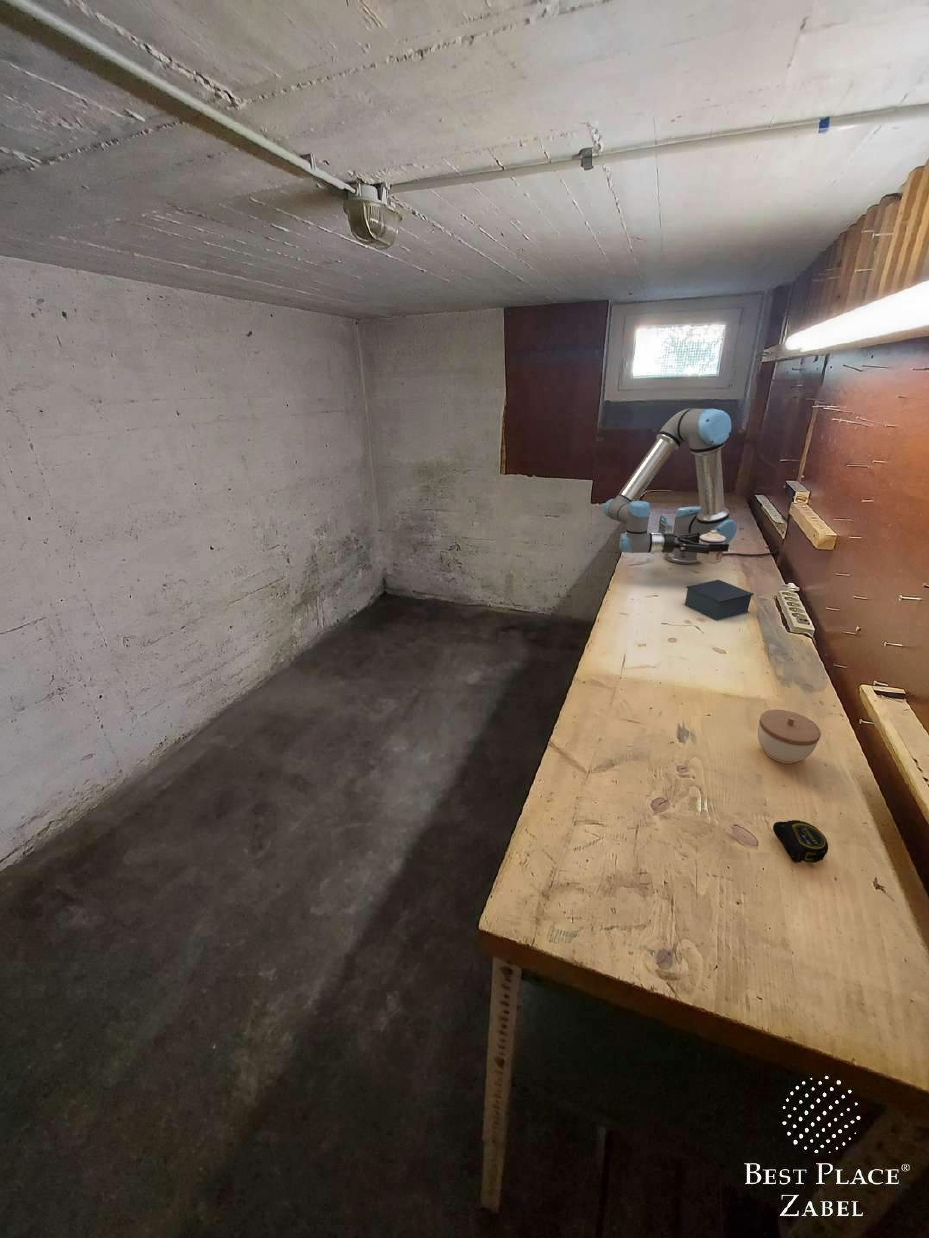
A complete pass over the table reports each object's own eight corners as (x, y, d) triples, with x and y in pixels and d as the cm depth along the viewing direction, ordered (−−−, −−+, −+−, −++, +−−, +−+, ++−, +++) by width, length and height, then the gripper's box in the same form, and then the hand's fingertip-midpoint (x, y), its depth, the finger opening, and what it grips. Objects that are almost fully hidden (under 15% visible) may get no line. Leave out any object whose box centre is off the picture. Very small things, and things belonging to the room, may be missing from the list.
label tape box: (671, 542, 237) (674, 518, 231) (662, 543, 237) (666, 518, 232) (664, 537, 245) (668, 513, 239) (656, 538, 245) (659, 514, 240)
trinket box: (741, 739, 108) (750, 705, 104) (787, 735, 108) (798, 700, 104) (773, 773, 98) (784, 737, 94) (823, 768, 99) (836, 732, 95)
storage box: (714, 597, 177) (718, 579, 174) (749, 612, 165) (753, 593, 162) (683, 604, 172) (686, 586, 169) (716, 620, 160) (720, 601, 157)
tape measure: (768, 832, 86) (773, 816, 84) (809, 833, 85) (815, 818, 83) (788, 866, 80) (794, 850, 78) (832, 868, 79) (839, 852, 77)
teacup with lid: (720, 565, 178) (726, 535, 173) (693, 562, 182) (698, 532, 177) (724, 556, 187) (729, 526, 182) (698, 553, 191) (703, 524, 186)
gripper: (654, 543, 197) (711, 543, 193) (667, 562, 176) (731, 562, 172) (657, 525, 193) (715, 524, 190) (670, 542, 173) (735, 542, 169)
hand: (723, 542), depth 181 cm, fingers closed on teacup with lid, 11 cm apart
